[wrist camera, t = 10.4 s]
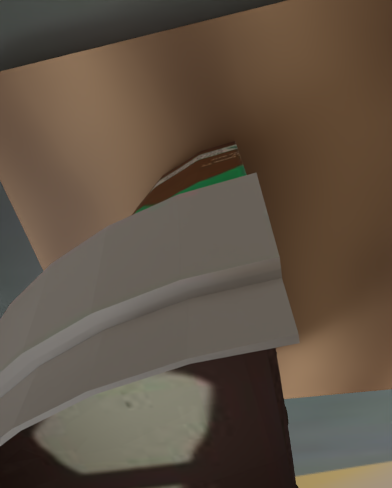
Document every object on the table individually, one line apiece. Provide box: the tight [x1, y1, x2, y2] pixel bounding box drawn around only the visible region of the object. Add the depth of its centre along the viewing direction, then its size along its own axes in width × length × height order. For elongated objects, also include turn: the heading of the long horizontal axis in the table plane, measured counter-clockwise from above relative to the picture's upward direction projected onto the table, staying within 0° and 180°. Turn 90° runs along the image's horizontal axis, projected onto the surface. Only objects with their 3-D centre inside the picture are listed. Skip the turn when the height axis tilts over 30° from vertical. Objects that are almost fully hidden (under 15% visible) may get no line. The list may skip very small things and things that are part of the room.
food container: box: [0, 141, 300, 488], centre depth 10 cm, size 12×6×10 cm, turn 12°
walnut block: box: [0, 0, 392, 399], centre depth 15 cm, size 14×16×2 cm
